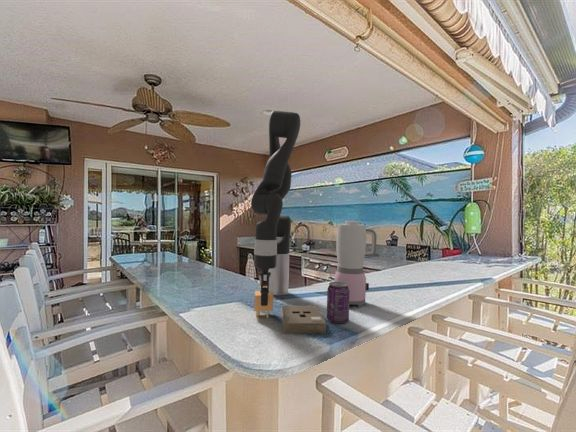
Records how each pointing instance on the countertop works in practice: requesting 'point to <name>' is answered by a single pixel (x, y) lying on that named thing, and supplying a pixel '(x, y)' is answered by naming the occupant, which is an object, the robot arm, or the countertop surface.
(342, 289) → the beverage can
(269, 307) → the plug
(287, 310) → the socket plate
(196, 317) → the countertop surface
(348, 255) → the blender
